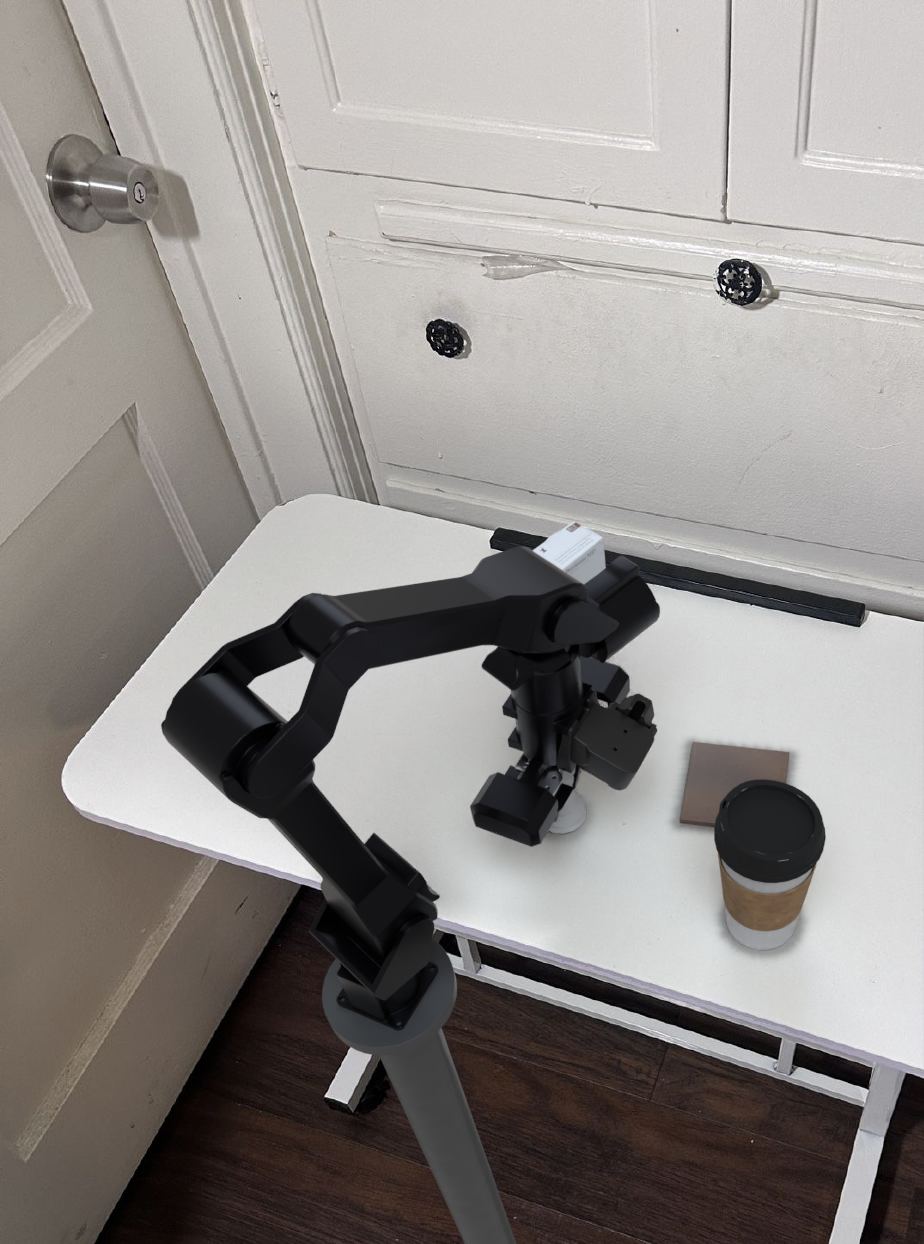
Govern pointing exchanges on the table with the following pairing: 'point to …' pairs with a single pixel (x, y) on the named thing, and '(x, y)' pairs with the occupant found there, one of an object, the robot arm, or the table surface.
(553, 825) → the rook chess piece
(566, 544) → the cosmetic box
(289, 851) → the table surface
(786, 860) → the coffee cup
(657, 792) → the table surface
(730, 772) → the walnut coaster
